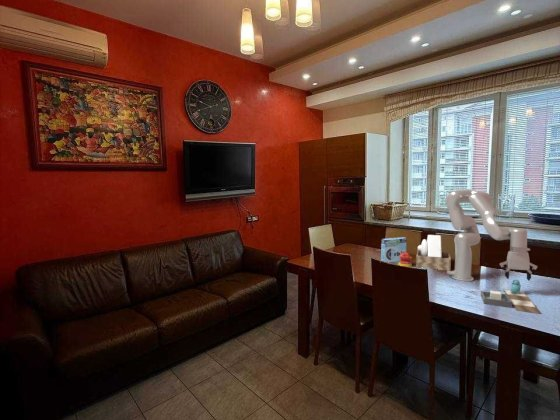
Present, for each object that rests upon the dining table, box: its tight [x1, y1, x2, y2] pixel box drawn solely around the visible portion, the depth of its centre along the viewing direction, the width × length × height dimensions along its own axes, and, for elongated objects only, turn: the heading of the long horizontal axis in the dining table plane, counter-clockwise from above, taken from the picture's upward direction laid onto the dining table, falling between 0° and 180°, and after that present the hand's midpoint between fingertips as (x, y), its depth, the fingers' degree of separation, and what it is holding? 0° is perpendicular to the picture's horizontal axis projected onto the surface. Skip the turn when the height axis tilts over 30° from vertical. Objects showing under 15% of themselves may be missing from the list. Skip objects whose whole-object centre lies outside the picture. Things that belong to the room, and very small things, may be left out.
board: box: [503, 289, 542, 315], centre depth 165 cm, size 10×32×1 cm, turn 153°
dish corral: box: [415, 249, 452, 271], centre depth 235 cm, size 23×23×9 cm
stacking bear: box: [398, 252, 413, 268], centre depth 205 cm, size 11×10×18 cm
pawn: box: [510, 279, 522, 294], centre depth 175 cm, size 4×4×8 cm
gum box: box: [380, 236, 407, 265], centre depth 230 cm, size 20×5×23 cm, turn 106°
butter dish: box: [417, 234, 442, 258], centre depth 237 cm, size 18×18×16 cm
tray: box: [480, 290, 513, 309], centre depth 164 cm, size 12×12×3 cm
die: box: [489, 290, 502, 300], centre depth 165 cm, size 5×5×5 cm
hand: (517, 279), depth 174 cm, fingers open, 9 cm apart
